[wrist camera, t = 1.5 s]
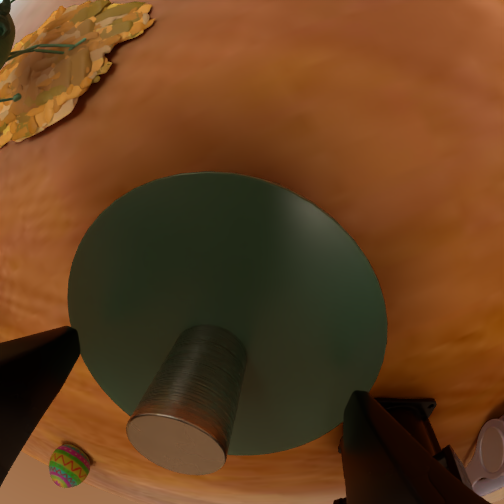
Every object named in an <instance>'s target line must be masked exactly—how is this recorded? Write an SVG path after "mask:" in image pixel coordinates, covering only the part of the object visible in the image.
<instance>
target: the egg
mask: <svg viewBox="0 0 504 504" xmlns="http://www.w3.org/2000/svg"><path fill="white" fill-rule="evenodd" d="M89 470H90V462H89V458H88V457H87V455H86V454H85V453H84V452H83V451H82V450H80V449H79V448H77V447H76V446H74V445H71V444H65V445H62V446H60V447H58V448H57V449H56V450H55V451H54V452H53V454H52V456H51V458H50V463H49V471H50V475H51V478H52V480H53V481H54V482H55V484H57V485H58V486H60V487H64V488H70V487H74V486H77V485H79V484H80V483H81V482H83V481H84V480H85V478H86V477H87V475H88V473H89Z"/></svg>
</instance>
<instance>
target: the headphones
mask: <svg viewBox="0 0 504 504" xmlns="http://www.w3.org/2000/svg"><path fill="white" fill-rule="evenodd" d="M465 470H466V473H467V475H468V477H469V479H470V482H471V484H472V487H473V491H474V492H475V493H476V494H478V495H479V496H480V497H481V496H484V495H487V494H489V493H492V492H494V491H496V490H498V489H500V488H502V487H504V415H503V416H501V417H500V418H499V419H491V420H489V421H488V422H486V423H485V425H484V426H483V427H482V429H481V431H480V434H479V437H478V441H477V446H476V451H475V454H474V456H473V458H472V459H471V461H470V463H469V464H468V465H467V467H466V468H465ZM483 477H484V478H486V479H483V480H479V479H480V478H483ZM478 480H479V481H478Z"/></svg>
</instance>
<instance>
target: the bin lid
mask: <svg viewBox="0 0 504 504" xmlns="http://www.w3.org/2000/svg"><path fill="white" fill-rule="evenodd" d="M68 312H69V318H70V323H71V327H72V328H75V329H76V330H77V331H78V335H79V342H80V348H81V352H80V354H81V356H82V358H83V360H84V362H85V364H86V366H87V367H88V369H89V371H90V372H91V374H92V376H93V377H94V379H95V380H96V381H97V383H98V384H99V385H100V387H101V388H102V389H103V390H104V392H105V393H106V394H107V395H108V396H109V397H110V398H111V399H112V400H113V401H114V402H115V403H116V404H117V405H118V406H119V407H120V408H121V409H122V410H123V411H125V412H126V413H127V414H128V415H129V416H131V417H130V419H129V421H128V423H127V427H126V431H127V435H128V438H129V440H130V442H131V443H132V445H133V446H134V447H135V448H136V450H137V451H138V452H140V453H141V454H142V455H143V456H144V457H146V458H147V459H148V460H150V461H152V462H153V463H155V464H157V465H159V466H161V467H163V468H166V469H168V470H171V471H174V472H178V473H183V474H189V475H204V474H210V473H213V472H215V471H217V470H219V469H220V468H221V467H222V466H223V465H224V464H225V461H226V458H227V455H260V454H270V453H275V452H280V451H284V450H288V449H291V448H295V447H298V446H301V445H303V444H306V443H308V442H310V441H313V440H315V439H317V438H319V437H321V436H322V435H324V434H326V433H327V432H329V431H331V430H332V429H334V428H335V427H336V426H338V425H339V424H340V423H342V422H343V415H344V410H345V407H346V405H347V403H348V401H349V399H350V396H351V394H352V393H353V391H355V390H361V391H367V392H368V393H369V391H370V390H371V388H372V386H373V384H374V382H375V381H376V379H377V376H378V374H379V371H380V368H381V366H382V363H383V359H384V354H385V349H386V344H387V325H388V322H387V314H386V306H385V301H384V297H383V294H382V291H381V287H380V284H379V281H378V279H377V277H376V275H375V273H374V271H373V269H372V267H371V265H370V262H369V260H368V259H367V257H366V256H365V255H364V253H363V252H362V250H361V249H360V247H359V246H358V245H357V243H356V242H355V240H354V239H353V238H352V237H351V236H350V235H349V234H348V233H347V231H346V230H345V229H344V228H343V227H342V226H341V225H340V224H339V223H338V222H337V221H336V220H335V219H334V218H333V217H332V216H330V215H329V214H328V213H326V212H325V211H324V210H322V209H321V208H320V207H318V206H317V205H316V204H315V203H313V202H312V201H310V200H308V199H306V198H305V197H303V196H301V195H299V194H297V193H296V192H294V191H292V190H290V189H288V188H286V187H283V186H281V185H278V184H275V183H273V182H270V181H267V180H265V179H262V178H257V177H253V176H248V175H243V174H239V173H231V172H216V171H204V172H191V173H181V174H176V175H172V176H168V177H164V178H160V179H156V180H153V181H151V182H149V183H146V184H144V185H141V186H139V187H137V188H134V189H133V190H131V191H130V192H128V193H126V194H125V195H123V196H122V197H120V198H118V199H117V200H115V201H114V202H113V203H112V204H111V205H110V206H109V207H107V208H106V209H105V210H104V211H103V212H102V213H101V214H100V215H99V216H98V217H97V219H96V220H95V221H94V222H93V224H92V225H91V226H90V227H89V229H88V230H87V232H86V234H85V235H84V237H83V239H82V241H81V242H80V244H79V246H78V249H77V251H76V254H75V257H74V259H73V262H72V266H71V271H70V276H69V282H68Z"/></svg>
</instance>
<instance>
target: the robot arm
mask: <svg viewBox="0 0 504 504" xmlns="http://www.w3.org/2000/svg"><path fill="white" fill-rule="evenodd" d="M80 352H81V348H80V342H79V335H78V331H77V330H76V329H75V328H72V327H69V326H64V327H60V328H56V329H52V330H49V331H45V332H41V333H37V334H33V335H30V336H26V337H22V338H18V339H14V340H10V341H6V342H2V343H0V486H1V484H2V483H3V481H4V479H5V477H6V475H7V474H8V471H9V470H10V468H11V466H12V465H13V463H14V461H15V460H16V458H17V456H18V455H19V453H20V451H21V450H22V448H23V446H24V445H25V443H26V441H27V440H28V438H29V437H30V435H31V433H32V432H33V430H34V429H35V427H36V426H37V424H38V422H39V421H40V419H41V418H42V416H43V415H44V413H45V412H46V410H47V409H48V407H49V406H50V404H51V403H52V401H53V400H54V398H55V397H56V395H57V394H58V392H59V391H60V389H61V388H62V386H63V384H64V383H65V381H66V379H67V377H68V375H69V373H70V372H71V370H72V368H73V366H74V364H75V363H76V361H77V359H78V357H79V355H80ZM436 405H437V404H436V401H435V399H397V398H373V397H372V396H371V395H370V394H369V393H368V392H367V391H361V390H355V391H353V393H352V394H351V396H350V399H349V401H348V403H347V405H346V407H345V410H344V415H343V436H342V438H341V440H340V444H339V446H338V452H339V453H341V454H342V463H343V471H344V478H345V485H346V498H340V499H337V500H334V503H333V504H491V503H489V502H488V501H486V500H485V499H483V498H482V497H480V496H479V495H478V494H476V493H475V492H474V491H473V487H472V484H471V482H470V479H469V477H468V475H467V473H466V470H465V468H464V466H463V464H462V462H461V461H460V459H459V458H458V456H457V455H456V453H455V452H454V450H453V449H452V448H451V446H450V445H448V446H446V447H444V448H443V449H442V450H441V448H440V445H439V443H438V440H437V438H436V436H435V433H434V431H433V428H432V426H431V424H430V421H429V419H428V418H429V416H430V415H431V413H432V411H433V410H434V408H435V407H436Z"/></svg>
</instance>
